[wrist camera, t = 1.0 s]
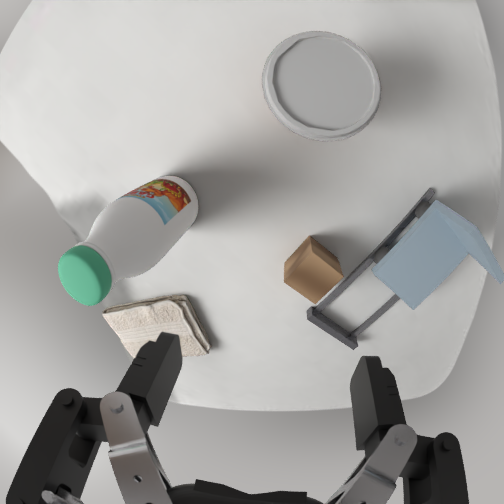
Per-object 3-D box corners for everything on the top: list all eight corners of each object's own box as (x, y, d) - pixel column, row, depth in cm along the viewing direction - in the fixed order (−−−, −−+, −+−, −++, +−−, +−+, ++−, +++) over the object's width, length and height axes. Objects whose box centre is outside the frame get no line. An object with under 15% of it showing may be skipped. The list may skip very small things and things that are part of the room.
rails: (427, 184, 30) (434, 188, 29) (463, 232, 32) (470, 237, 30) (306, 310, 40) (307, 319, 39) (351, 341, 42) (353, 349, 40)
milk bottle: (211, 214, 36) (140, 307, 18) (166, 240, 38) (84, 333, 20) (179, 163, 33) (74, 212, 15) (136, 193, 36) (31, 259, 18)
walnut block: (309, 235, 36) (312, 252, 31) (337, 257, 36) (343, 276, 32) (284, 262, 38) (283, 282, 33) (312, 283, 38) (315, 304, 34)
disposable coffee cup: (338, 53, 25) (363, 20, 15) (361, 128, 29) (398, 131, 18) (259, 69, 27) (244, 41, 17) (283, 144, 31) (281, 154, 20)
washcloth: (217, 344, 46) (213, 357, 43) (137, 353, 51) (131, 364, 48) (186, 287, 42) (179, 299, 39) (105, 306, 46) (97, 316, 43)
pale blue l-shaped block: (427, 194, 30) (476, 226, 20) (460, 237, 32) (505, 278, 21) (367, 260, 35) (392, 314, 25) (405, 295, 37) (433, 349, 26)
